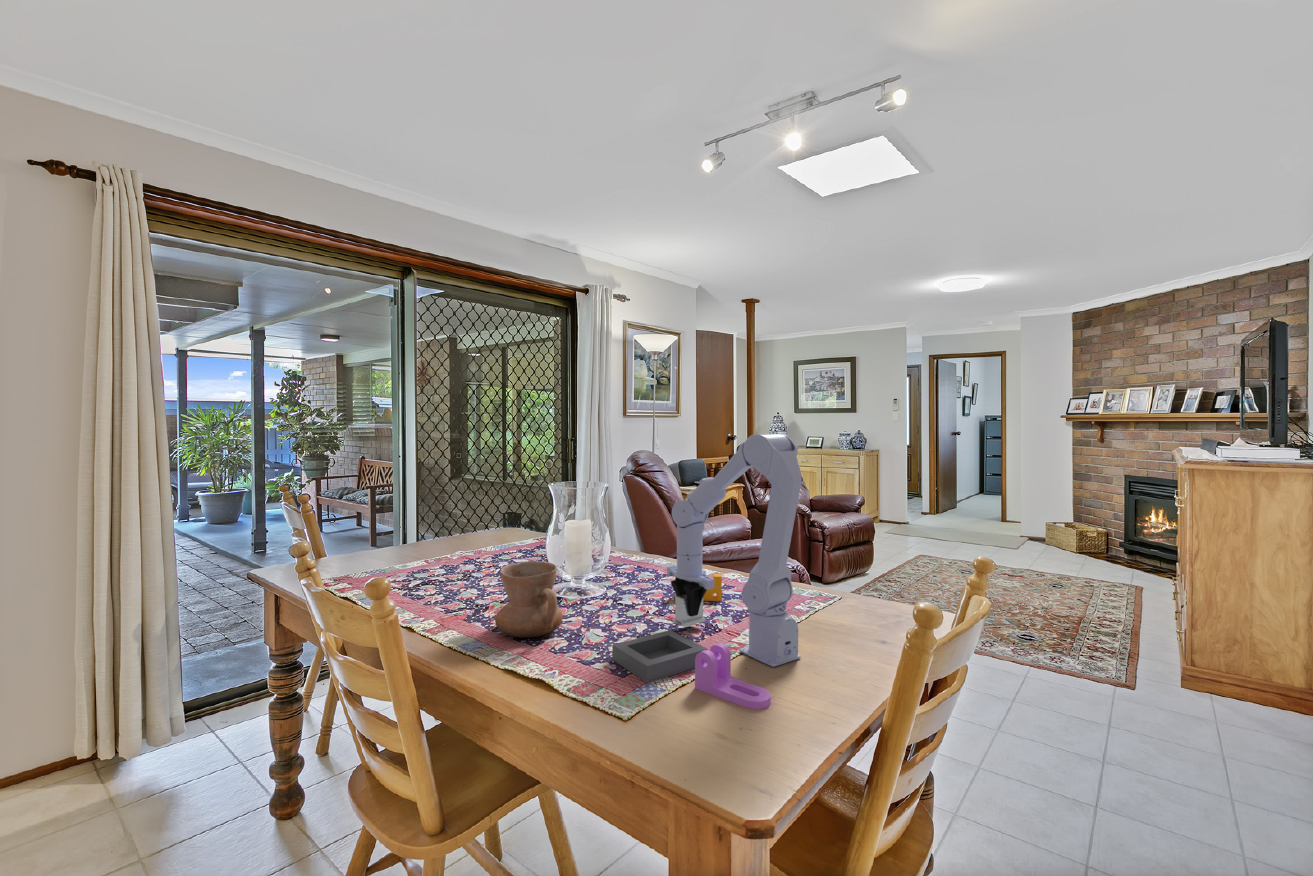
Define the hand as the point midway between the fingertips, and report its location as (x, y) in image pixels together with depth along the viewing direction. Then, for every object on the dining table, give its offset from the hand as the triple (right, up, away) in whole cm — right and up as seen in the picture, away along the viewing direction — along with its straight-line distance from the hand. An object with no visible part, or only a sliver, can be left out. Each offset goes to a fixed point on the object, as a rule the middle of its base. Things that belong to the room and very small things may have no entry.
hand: (689, 613), depth 132 cm
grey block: (0, -2, 0) cm, 2 cm away
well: (-7, -4, -18) cm, 20 cm away
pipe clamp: (+4, -3, +21) cm, 21 cm away
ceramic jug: (-35, -4, -3) cm, 35 cm away
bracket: (+6, -5, -31) cm, 32 cm away
